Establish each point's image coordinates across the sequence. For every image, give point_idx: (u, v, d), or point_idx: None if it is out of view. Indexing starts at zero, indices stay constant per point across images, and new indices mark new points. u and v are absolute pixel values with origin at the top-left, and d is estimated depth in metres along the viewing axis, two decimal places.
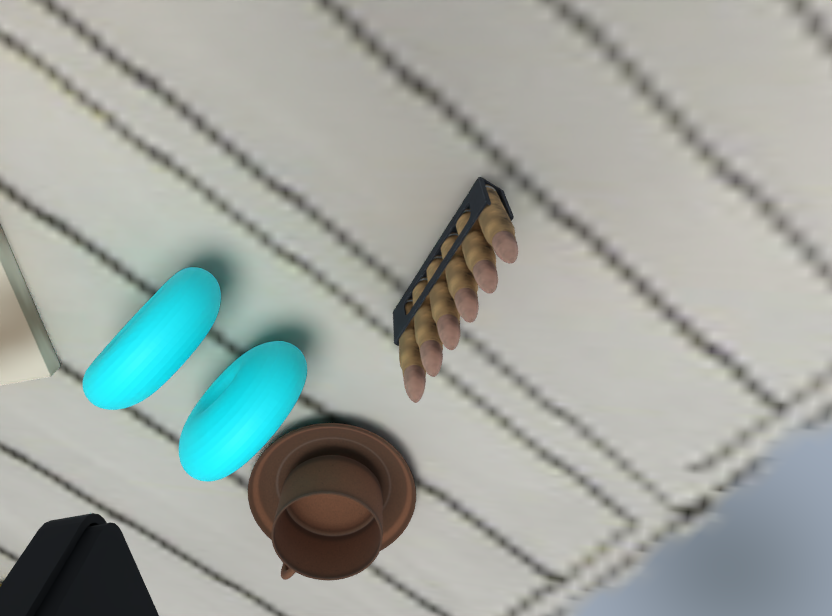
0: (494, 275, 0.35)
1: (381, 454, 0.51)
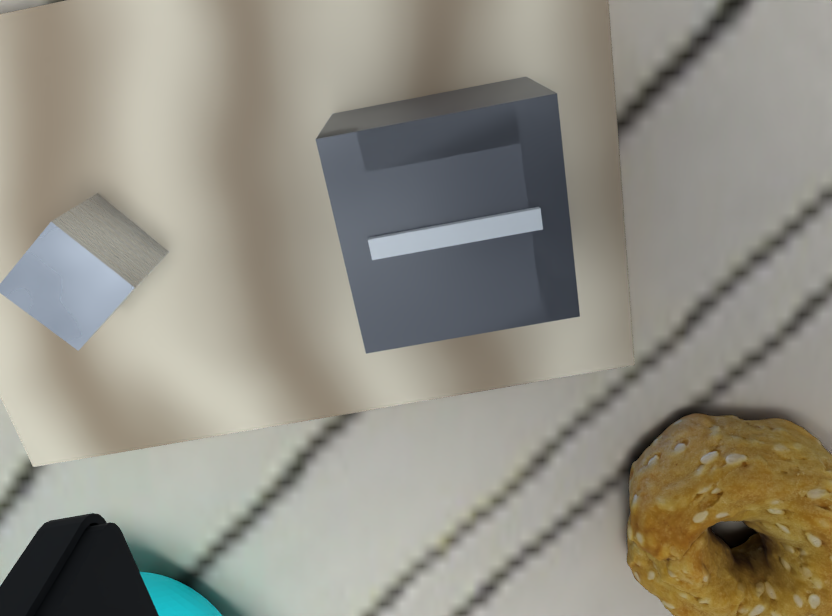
0: None
1: None
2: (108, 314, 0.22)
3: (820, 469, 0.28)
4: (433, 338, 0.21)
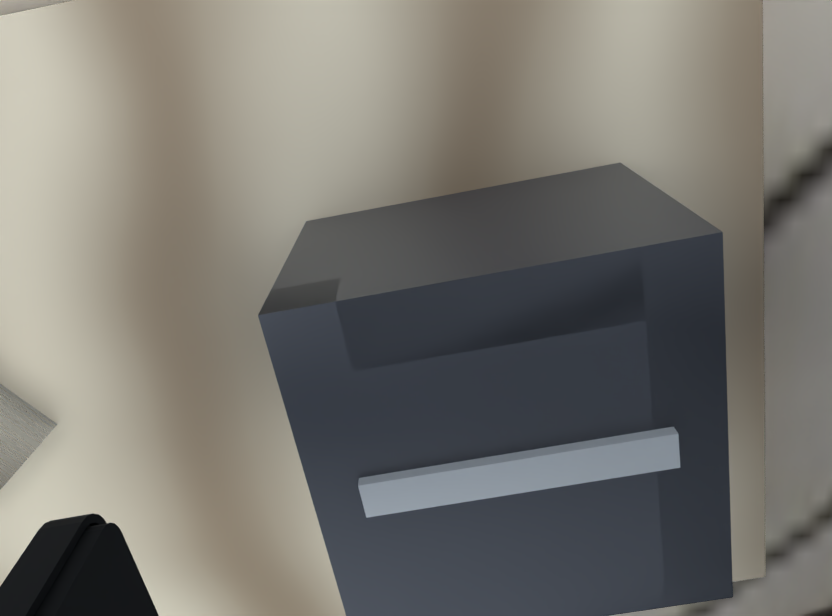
0: None
1: None
2: None
3: None
4: None
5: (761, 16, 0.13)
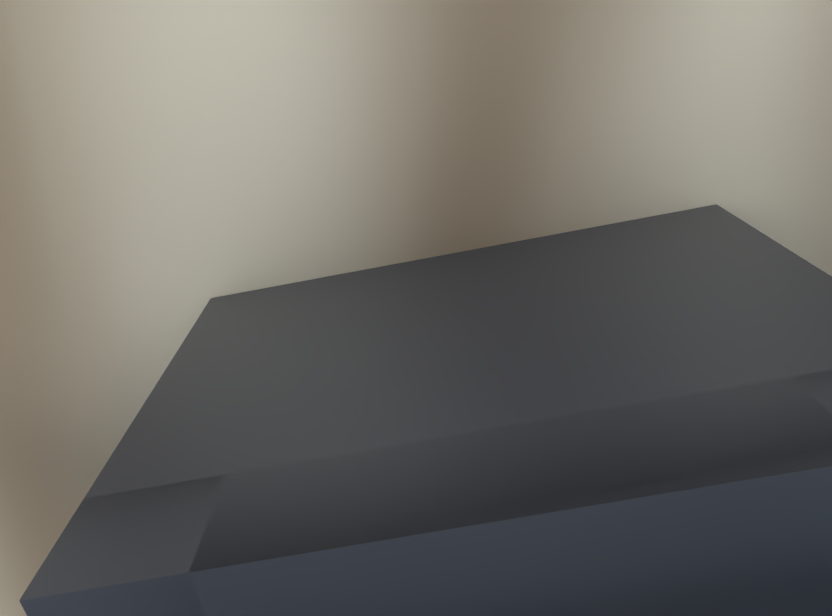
0: None
1: None
2: None
3: None
4: None
5: None
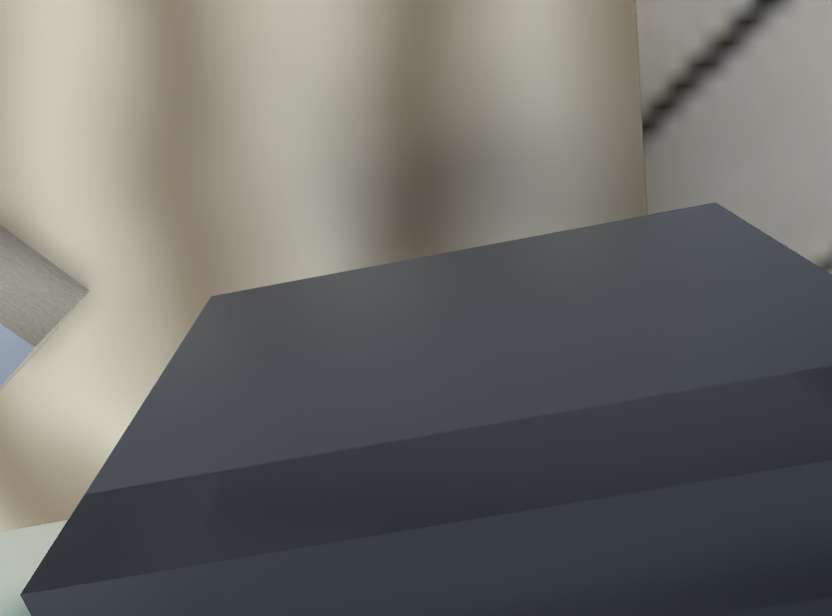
0: None
1: None
2: (3, 380, 0.17)
3: None
4: None
5: None
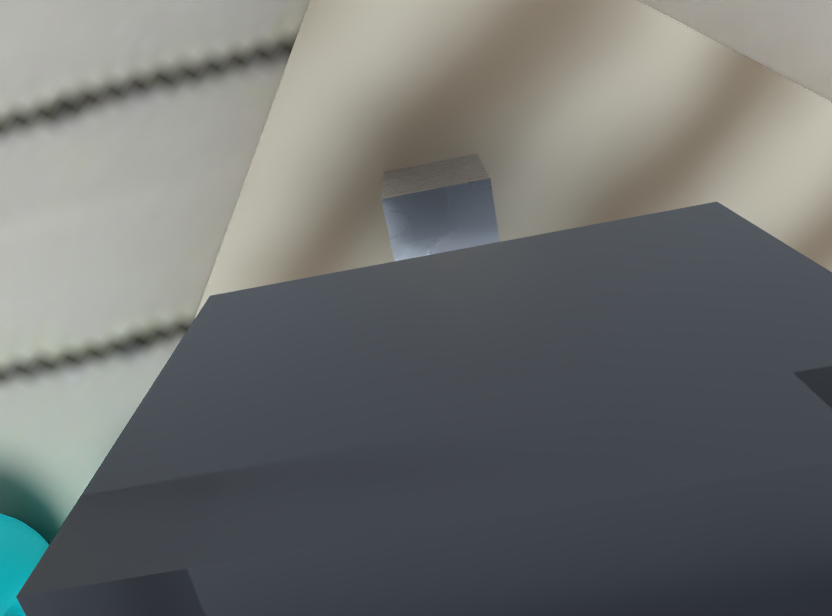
0: None
1: None
2: None
3: None
4: None
5: None
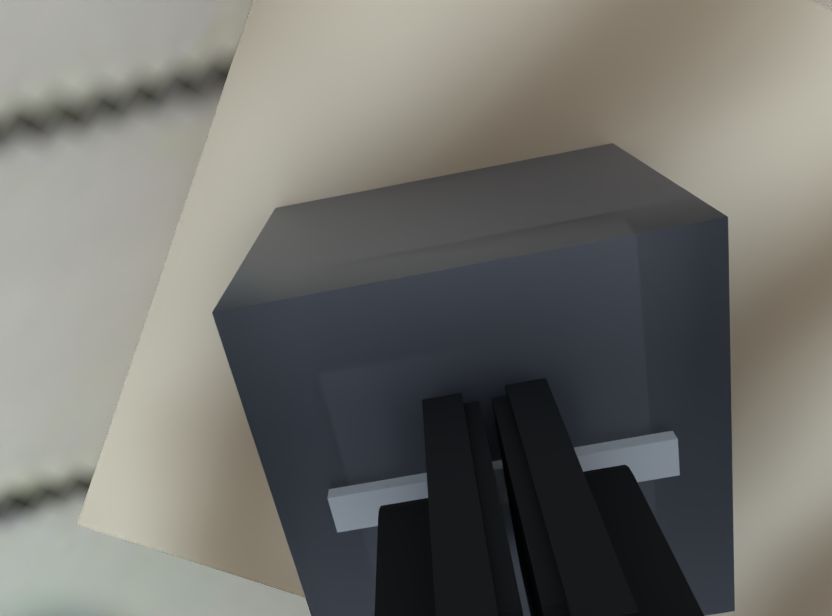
0: None
1: None
2: None
3: None
4: None
5: None
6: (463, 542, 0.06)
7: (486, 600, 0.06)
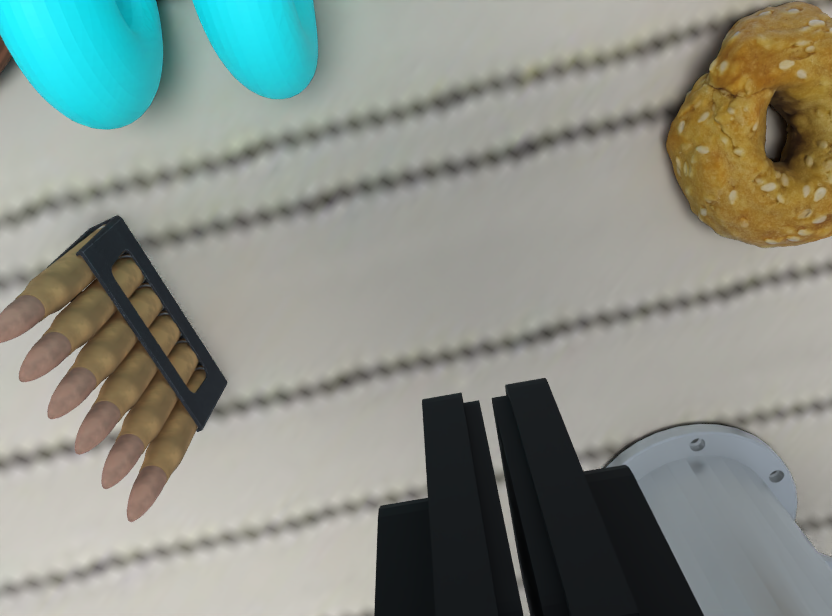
0: None
1: None
2: None
3: None
4: None
5: None
6: (463, 542, 0.06)
7: (486, 600, 0.06)
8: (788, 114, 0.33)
